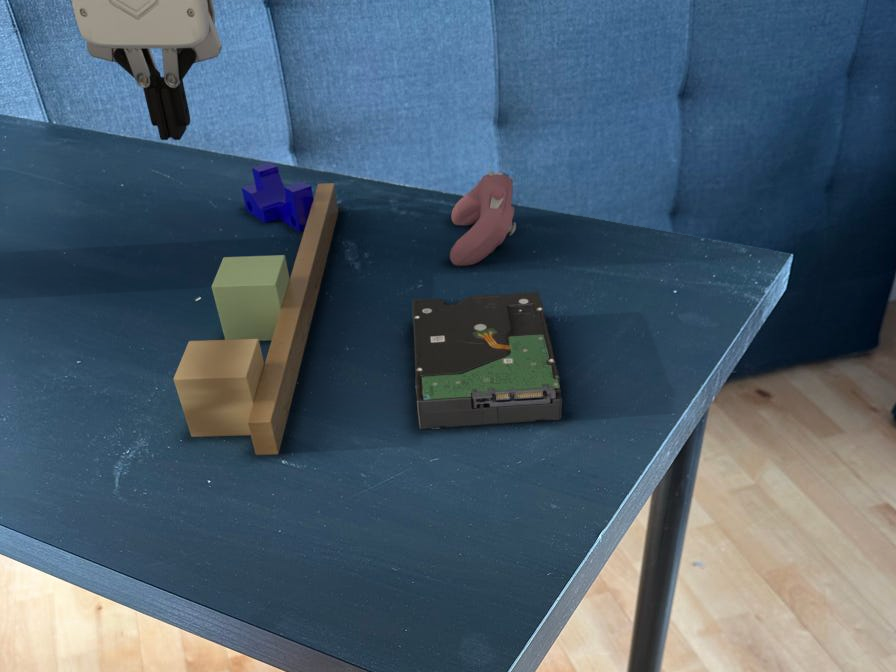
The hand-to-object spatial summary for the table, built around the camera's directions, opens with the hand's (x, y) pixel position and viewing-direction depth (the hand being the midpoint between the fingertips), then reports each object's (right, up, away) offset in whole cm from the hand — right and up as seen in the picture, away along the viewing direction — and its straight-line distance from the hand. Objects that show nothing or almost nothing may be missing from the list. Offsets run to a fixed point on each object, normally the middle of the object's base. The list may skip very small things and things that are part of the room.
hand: (174, 134), depth 81 cm
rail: (+12, -17, -2) cm, 20 cm away
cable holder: (+7, -3, +11) cm, 13 cm away
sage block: (+9, -18, -4) cm, 20 cm away
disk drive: (+27, -24, -10) cm, 37 cm away
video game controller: (+27, -8, +5) cm, 28 cm away
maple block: (+9, -28, -13) cm, 32 cm away
